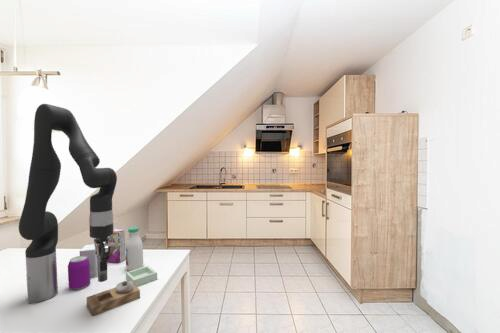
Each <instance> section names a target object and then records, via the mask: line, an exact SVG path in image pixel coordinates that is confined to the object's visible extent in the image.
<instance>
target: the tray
mask: <svg viewBox="0 0 500 333" xmlns="http://www.w3.org/2000/svg"><path fill="white" fill-rule="evenodd" d="M157 280H158V272H157V271H156V270H155V269H154V268H152V267H151V266H149V265H145V266H143V267H142V268H139V269H136V270H132V271H126V272H125V281H132V282H133V284H134V285H135V286H136V287H137V288H138V287H140V286H143V285H145V284H148V283H150V282H154V281H157Z"/></svg>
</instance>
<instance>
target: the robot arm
mask: <svg viewBox="0 0 500 333" xmlns="http://www.w3.org/2000/svg"><path fill="white" fill-rule="evenodd" d="M35 110H36V111H35V113H34V120H33V129H34V130H33V145H32V152H31V154H32V155H31V161H30V166H29V173H28V183H27V187H26V193H25V194H26V195H25V200H24V204H23V208H22V212H21V215H20V219H19V223H18V232H19V235H20V236H21V237H22V238H23V239H24V240H27V241H31V242H30V243H29V245H28V246H27V247H26V249H25V252H24V253H25V268H26V271H25V272H26V289H27V290H26V291H27V293H26V294H27V302H28V304H33V303H40V302H44V301H47V300H49V299H51V298H53V297H55V296H57V295H58V294H59V285H58V284H59V283H58V282H59V281H58V266H57V265H58V264H57V245H58V242H59V241H58V240H59V222H58V219H57V217H56V215H55V214H54V213H53V212H51V211H48V210H47V205H48V202H49V201H50V198H51V196H52V195H53V193H54V192H55V190H56V188H57V186H58V183H59V182H60V177H61V176H60V175H61V170H62V164H61V160H60V158H59V156H58V154H57V152H56V151H55V148H54V146H53V142H52V140H53V139H52V136H53V131H57V132H62V133H63V134H65V136H67V138H68V140H69V141H68V152H69V154H70V157H71V158H72V159H73V161H74V162H75V163H76V165H77V166H78V167H79V172H80V175H81V177H82V181H83V183H84V184H85V186H86V187H88V188H90V189H98V188H99V190H98V192H96V193H95V194H93V195H91V196H90V197H89V218H88V219H89V221H88V223H89V237H90V238H92V239H93V242H94V243H93V244H95V254H96V255H97V252H96V248H97V250H98V255H99V257H100V259H99V261H100V271H101V272H102V271H106V270H107V271H108V262H107V260H109V258H110V249H111V247H110V246H109V240H108V239H107V237H108V236H111V235H112V234H113V229H114V213H113V197H114V194H115V190H116V186H117V180H118V176H117V172H116V171H115V170H114V169H113V168H111V167H99V165H100V162H101V160H100V157H99V156H98V155H97V153H96V152H95V150H93V148H92V147H91V145H90V144H89V143H88V141H87V139H86V138H85V136H84V134H83V132H82V129H81V127H80V125H79V123H78V122H77V119H76V117H75V115H74V114H73V113H72V112H71V111H70V110H69V109H67V108H64V107H60V106H57V105H52V104H48V103H42V104H40V105H39V106H37V108H36V109H35ZM46 210H47V211H46ZM100 251H102V252H101V253H100ZM98 255H97V256H96V257H97V260H98ZM104 256H106V257H104Z"/></svg>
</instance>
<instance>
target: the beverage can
mask: <svg viewBox="0 0 500 333" xmlns="http://www.w3.org/2000/svg"><path fill="white" fill-rule="evenodd" d="M67 277H68V278H67V279H68V288H69V289H70V290H73V291H76V290H77V291H78V290H81V289H84V288H86V287H88V285H89V284H90V283H91V278H90V262H89V259H88V257H87V256H80V255H77V256H74V257H72V258H70V259H69V262H68V265H67Z"/></svg>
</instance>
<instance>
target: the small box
mask: <svg viewBox="0 0 500 333" xmlns="http://www.w3.org/2000/svg"><path fill="white" fill-rule="evenodd" d="M79 256H87V257H88V259H89V262H90V279H91V278H96V277H97V278H98V260H97V257H96V256H97V255H96V254H95V244H94V243H92V244H85V245H84V246H83V247H82V248H81V249H80V250H79Z"/></svg>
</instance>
